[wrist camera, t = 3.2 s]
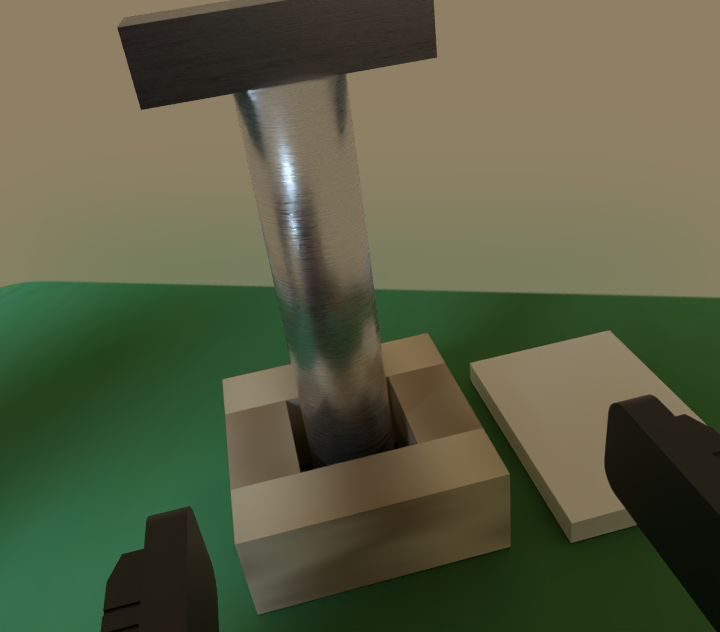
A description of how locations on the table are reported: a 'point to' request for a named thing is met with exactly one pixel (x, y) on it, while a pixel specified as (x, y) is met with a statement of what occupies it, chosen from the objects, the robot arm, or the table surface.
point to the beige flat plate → (569, 421)
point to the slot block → (361, 485)
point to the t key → (299, 174)
